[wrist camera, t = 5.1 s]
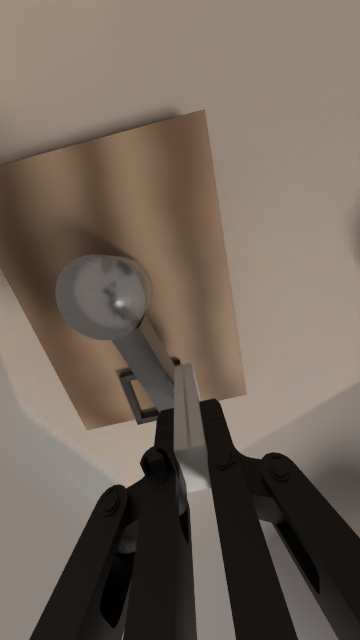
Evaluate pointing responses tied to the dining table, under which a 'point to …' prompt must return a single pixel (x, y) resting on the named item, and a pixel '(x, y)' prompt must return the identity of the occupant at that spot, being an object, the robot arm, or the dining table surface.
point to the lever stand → (128, 241)
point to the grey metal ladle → (118, 317)
